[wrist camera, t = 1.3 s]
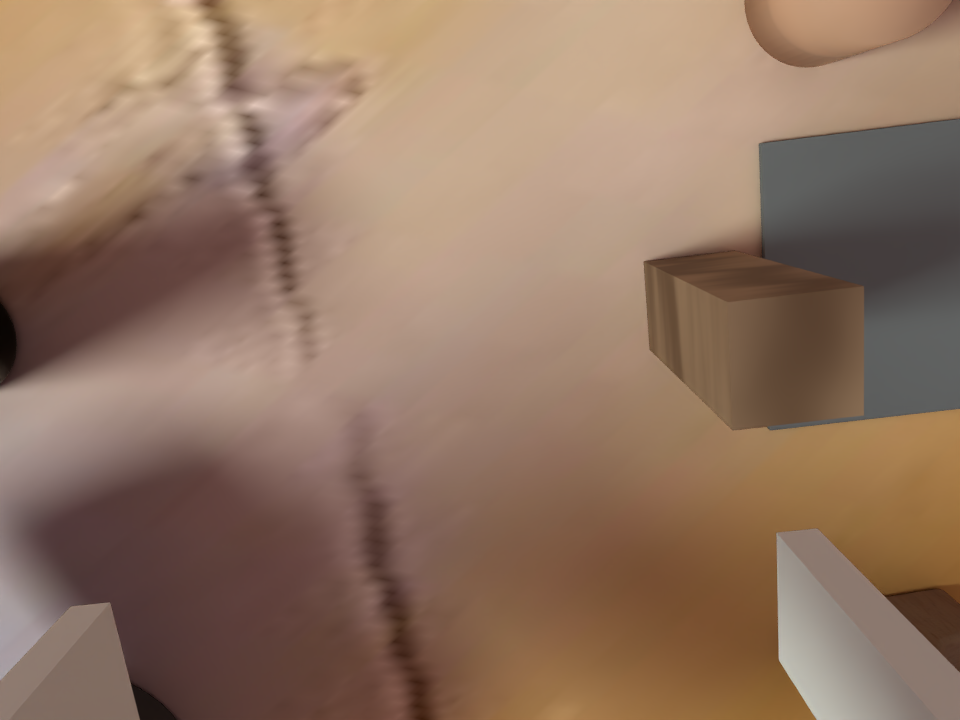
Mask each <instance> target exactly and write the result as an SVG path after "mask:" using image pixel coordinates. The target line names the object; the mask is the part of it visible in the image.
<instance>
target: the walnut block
mask: <svg viewBox="0 0 960 720" xmlns="http://www.w3.org/2000/svg"><path fill="white" fill-rule="evenodd" d="M644 273H645V288H646V303H647V318H648V332H649V347H650V350H651V351H652V352H653V353H654V354H655V355H656V356H657V357H658V358H659V359H660V360H661V361H662V362H663V363H664V364H665V365H666V366H667V367H668V368H669V369H670V370H671V371H672V372H673V373H674V374H675V375H676V376H677V377H678V378H679V379H680V380H681V381H682V382H684V383H685V384H686V385H687V386H688V387H689V388H690V389H691V390H692V391H693V392H694V393H695V394H696V395H697V396H698V397H699V398H700V399H701V400H702V401H703V402H704V403H705V404H706V405H707V406H708V407H709V408H710V409H711V410H712V411H713V412H714V413H715V414H716V415H717V416H718V417H719V418H720V419H722V420H723V421H724V422H725V423H726V424H727V425H728V426H729V427H730V428H731V429H732V430H742V429H750V428H759V427H768V426H777V425H785V424H794V423H803V422H811V421H820V420H829V419H837V418H846V417H855V416H864V286H862V285H858V284H855V283H851V282H847V281H844V280H840V279H836V278H833V277H829V276H825V275H822V274H818V273H815V272H811V271H807V270H804V269H800V268H796V267H793V266H789V265H785V264H782V263H778V262H774V261H771V260H767V259H763V258H760V257H756V256H752V255H749V254H745V253H742V252H738V251H727V252H719V253H711V254H702V255H694V256H686V257H677V258H669V259H661V260H652V261H644Z"/></svg>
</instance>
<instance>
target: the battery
mask: <svg viewBox="0 0 960 720" xmlns="http://www.w3.org/2000/svg"><path fill="white" fill-rule="evenodd" d="M16 346H17V345H16V334H15V330H14V326H13V323H12V321H11V319H10V316H9V315H8V313H7V311H6V309H5V308H4V306H3V305H2V304H1V302H0V384H1V383H2V382H3V381H4V379H5V378H6V377H7V375H8V374H9V372H10V370H11V368H12V366H13V363H14V360H15V356H16Z"/></svg>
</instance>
